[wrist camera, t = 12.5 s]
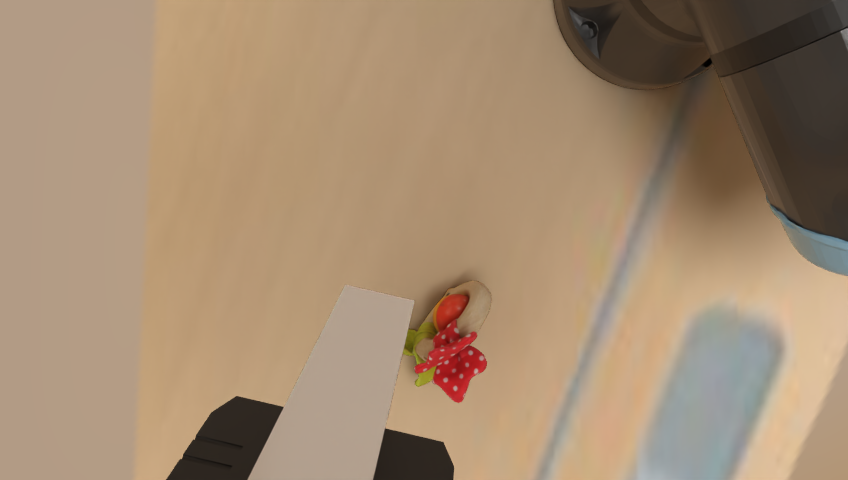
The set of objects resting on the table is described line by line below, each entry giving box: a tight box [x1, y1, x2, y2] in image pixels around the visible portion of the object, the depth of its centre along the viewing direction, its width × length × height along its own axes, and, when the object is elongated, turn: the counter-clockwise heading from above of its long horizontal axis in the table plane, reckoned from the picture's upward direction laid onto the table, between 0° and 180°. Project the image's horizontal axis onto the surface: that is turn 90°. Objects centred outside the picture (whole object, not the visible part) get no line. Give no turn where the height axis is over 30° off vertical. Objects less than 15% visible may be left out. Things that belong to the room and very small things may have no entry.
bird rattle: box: [403, 281, 492, 403], centre depth 45 cm, size 6×11×9 cm
